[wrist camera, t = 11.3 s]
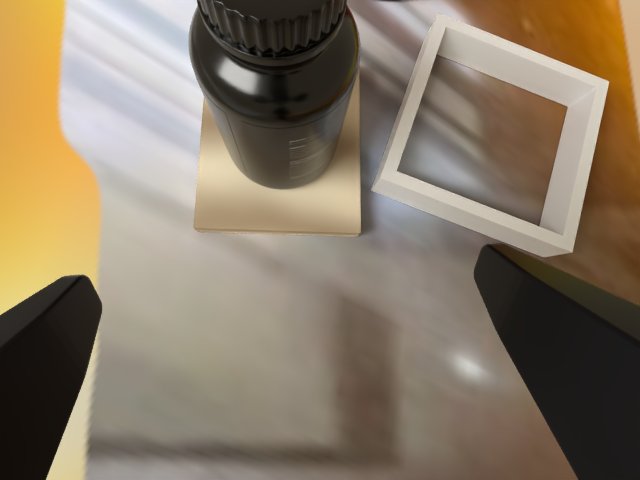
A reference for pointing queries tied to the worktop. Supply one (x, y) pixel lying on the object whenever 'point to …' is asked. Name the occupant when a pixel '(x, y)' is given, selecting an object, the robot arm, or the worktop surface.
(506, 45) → the frame
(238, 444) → the worktop surface
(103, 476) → the worktop surface
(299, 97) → the supplement bottle
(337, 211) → the birch board
